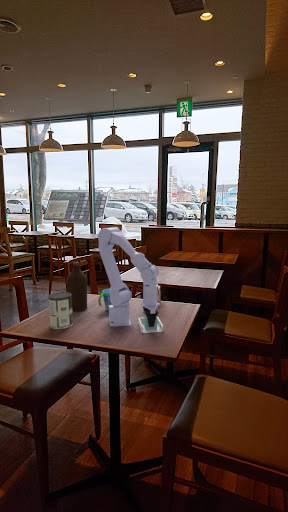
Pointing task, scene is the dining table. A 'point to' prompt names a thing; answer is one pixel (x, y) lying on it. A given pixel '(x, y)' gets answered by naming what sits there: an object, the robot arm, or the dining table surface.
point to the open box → (159, 329)
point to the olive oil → (77, 288)
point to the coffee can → (60, 310)
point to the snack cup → (105, 298)
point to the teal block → (148, 325)
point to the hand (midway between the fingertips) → (150, 324)
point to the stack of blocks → (157, 297)
